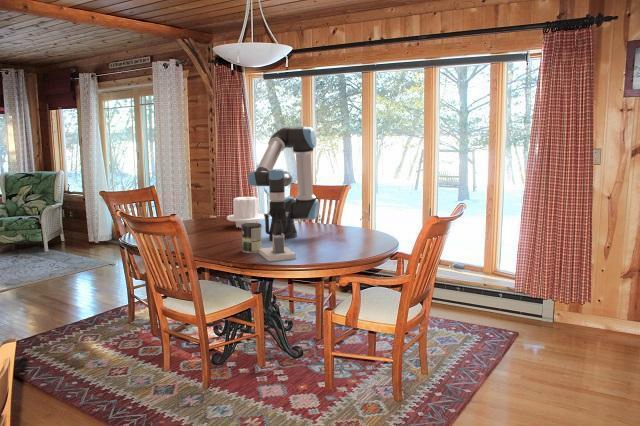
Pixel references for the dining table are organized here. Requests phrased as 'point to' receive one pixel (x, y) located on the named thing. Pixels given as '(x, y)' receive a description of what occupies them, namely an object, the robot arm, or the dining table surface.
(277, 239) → the plug
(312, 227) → the dining table surface
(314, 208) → the robot arm
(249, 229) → the coffee can
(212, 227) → the dining table surface
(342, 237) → the dining table surface
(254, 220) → the ribbed cylinder on disc
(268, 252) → the socket plate
